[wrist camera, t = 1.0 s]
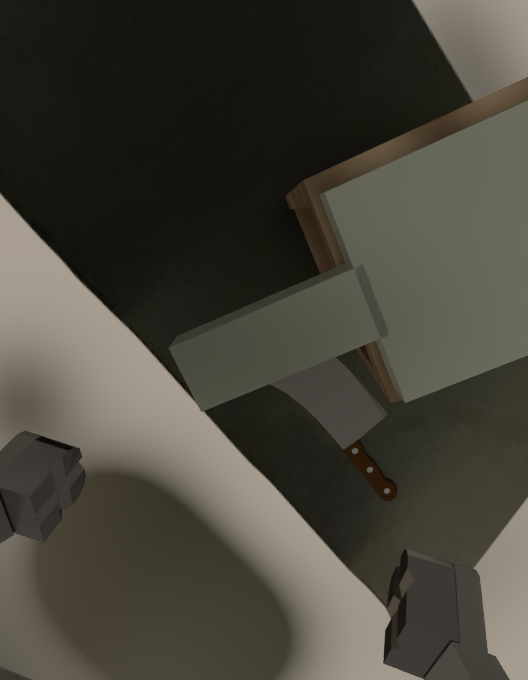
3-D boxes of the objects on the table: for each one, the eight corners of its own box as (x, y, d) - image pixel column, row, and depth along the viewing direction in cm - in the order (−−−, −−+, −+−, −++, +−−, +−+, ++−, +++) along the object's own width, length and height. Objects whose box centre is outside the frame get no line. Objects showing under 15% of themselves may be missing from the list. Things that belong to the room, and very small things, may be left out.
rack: (332, 312, 53) (405, 425, 25) (284, 196, 50) (308, 176, 22) (449, 263, 51) (666, 325, 24) (408, 139, 48) (605, 39, 20)
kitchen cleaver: (438, 468, 58) (373, 513, 59) (435, 464, 59) (371, 508, 60) (324, 318, 53) (256, 370, 54) (323, 316, 54) (256, 367, 55)
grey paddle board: (234, 449, 29) (231, 470, 26) (145, 273, 26) (133, 279, 24) (583, 310, 26) (615, 320, 24) (528, 99, 23) (558, 86, 21)
